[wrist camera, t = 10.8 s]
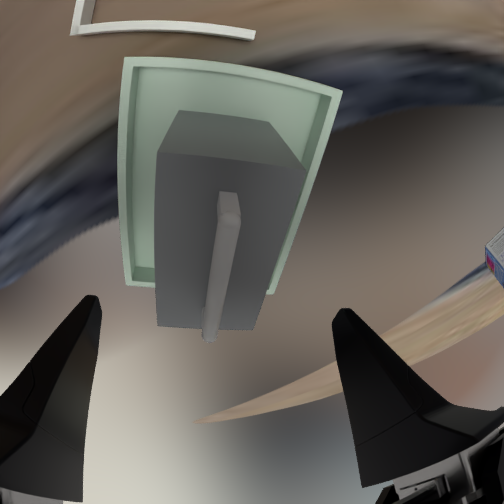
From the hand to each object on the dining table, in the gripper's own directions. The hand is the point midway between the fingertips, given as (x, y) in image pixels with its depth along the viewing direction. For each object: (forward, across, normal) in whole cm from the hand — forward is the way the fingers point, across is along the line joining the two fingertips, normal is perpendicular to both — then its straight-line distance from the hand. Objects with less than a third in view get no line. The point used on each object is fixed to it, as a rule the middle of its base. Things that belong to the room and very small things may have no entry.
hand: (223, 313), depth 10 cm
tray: (+10, 0, 0) cm, 10 cm away
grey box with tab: (+9, 0, 0) cm, 9 cm away
